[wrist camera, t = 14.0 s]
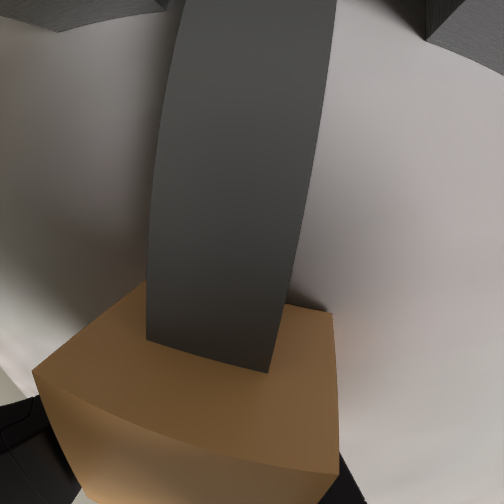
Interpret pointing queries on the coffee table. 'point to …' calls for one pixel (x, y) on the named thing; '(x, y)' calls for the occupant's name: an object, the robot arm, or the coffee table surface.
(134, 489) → the plug
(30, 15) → the grey piece
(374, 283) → the coffee table surface
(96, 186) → the coffee table surface
